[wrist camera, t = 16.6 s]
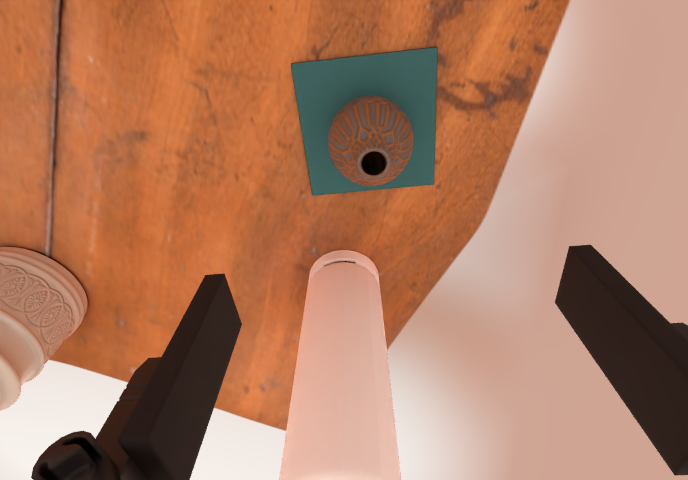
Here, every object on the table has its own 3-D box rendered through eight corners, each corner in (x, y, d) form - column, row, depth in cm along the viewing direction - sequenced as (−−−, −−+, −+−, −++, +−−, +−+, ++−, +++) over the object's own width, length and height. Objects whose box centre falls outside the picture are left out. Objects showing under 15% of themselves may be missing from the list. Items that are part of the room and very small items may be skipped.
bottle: (337, 237, 40) (319, 570, 16) (393, 273, 43) (449, 608, 19) (295, 283, 44) (231, 614, 20) (350, 315, 46) (351, 642, 22)
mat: (436, 46, 30) (437, 47, 30) (433, 182, 37) (434, 184, 36) (291, 63, 31) (290, 64, 31) (312, 194, 38) (312, 195, 37)
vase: (389, 73, 31) (402, 95, 24) (417, 147, 34) (436, 186, 27) (316, 110, 33) (307, 141, 25) (349, 176, 36) (350, 221, 29)
